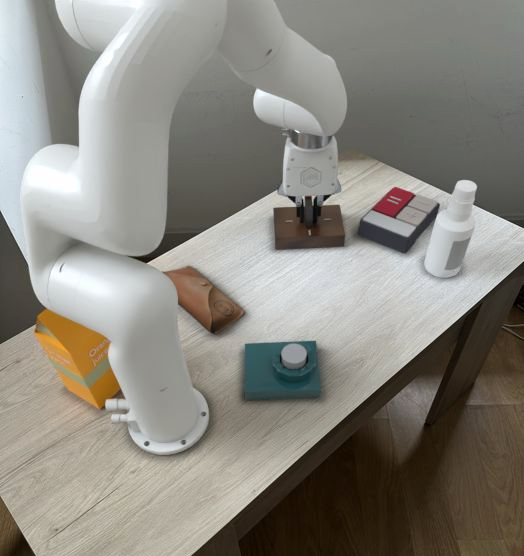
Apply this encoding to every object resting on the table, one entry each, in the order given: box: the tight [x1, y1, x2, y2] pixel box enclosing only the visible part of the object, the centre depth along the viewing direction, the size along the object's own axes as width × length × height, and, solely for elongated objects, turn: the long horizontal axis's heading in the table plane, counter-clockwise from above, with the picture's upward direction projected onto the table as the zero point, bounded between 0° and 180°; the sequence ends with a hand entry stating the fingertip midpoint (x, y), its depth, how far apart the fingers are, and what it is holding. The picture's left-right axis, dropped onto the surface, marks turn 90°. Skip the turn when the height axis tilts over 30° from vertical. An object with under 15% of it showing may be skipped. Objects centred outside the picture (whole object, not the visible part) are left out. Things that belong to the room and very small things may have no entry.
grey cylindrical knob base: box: [244, 340, 322, 401], centre depth 85 cm, size 12×10×4 cm
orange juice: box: [33, 308, 122, 410], centre depth 79 cm, size 8×9×20 cm
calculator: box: [357, 186, 441, 254], centre depth 107 cm, size 11×4×15 cm
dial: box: [303, 196, 313, 228], centre depth 104 cm, size 5×1×5 cm, turn 0°
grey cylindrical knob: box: [281, 344, 307, 370], centre depth 83 cm, size 4×4×2 cm
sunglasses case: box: [160, 265, 245, 335], centre depth 96 cm, size 18×7×7 cm
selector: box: [272, 204, 346, 251], centre depth 107 cm, size 14×10×3 cm
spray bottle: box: [423, 179, 478, 279], centre depth 93 cm, size 7×7×18 cm
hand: (308, 218), depth 105 cm, fingers closed
